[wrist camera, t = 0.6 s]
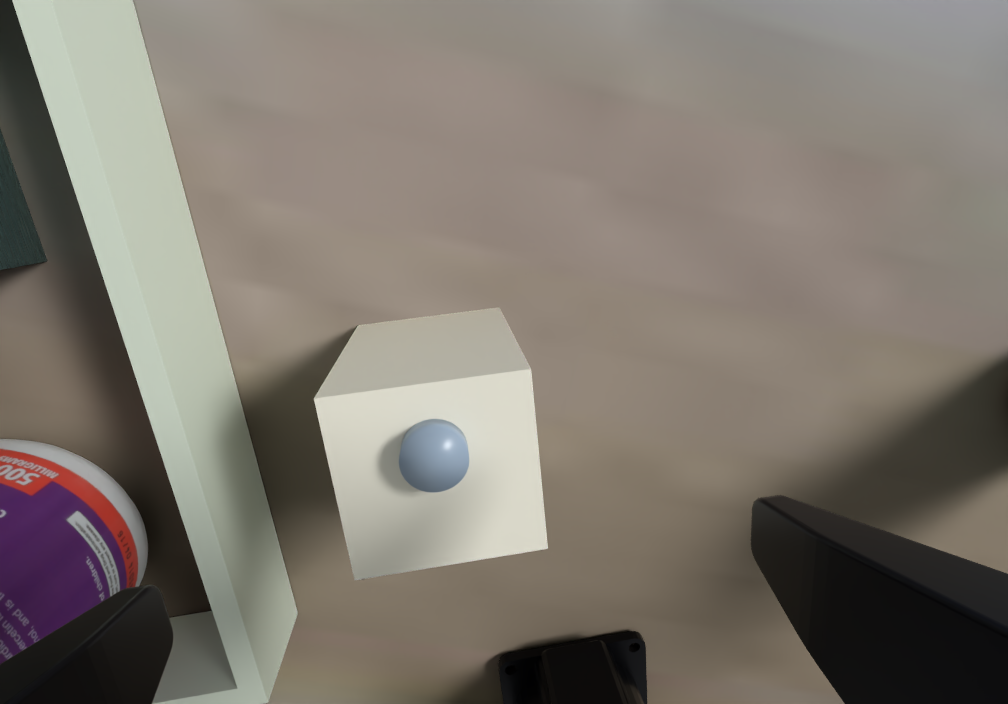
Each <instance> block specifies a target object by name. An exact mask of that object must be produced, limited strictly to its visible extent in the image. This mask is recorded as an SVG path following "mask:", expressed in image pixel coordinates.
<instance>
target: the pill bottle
mask: <svg viewBox="0 0 1008 704" xmlns="http://www.w3.org/2000/svg"><path fill="white" fill-rule="evenodd" d="M147 558H148V540H147V534H146V529H145V525H144V523H143V520H142V517H141V515H140V513H139V511H138V509H137V508H136V506H135V504H134V503H133V501H132V500H131V498H130V497H129V496H128V494H127V493H126V492H125V490H124V489H123V488H122V487H121V486H120V485H119V484H118V483H117V482H116V481H115V480H114V479H113V478H112V477H111V476H110V475H109V474H107V473H106V472H105V471H104V470H102V469H101V468H100V467H98V466H97V465H95V464H94V463H92V462H90V461H88V460H87V459H85V458H83V457H81V456H79V455H77V454H75V453H72V452H70V451H68V450H65V449H63V448H60V447H57V446H54V445H50V444H46V443H41V442H35V441H28V440H18V439H0V664H1V663H3V662H4V661H6V660H8V659H9V658H11V657H12V656H14V655H16V654H17V653H19V652H21V651H22V650H24V649H26V648H27V647H29V646H30V645H32V644H34V643H35V642H37V641H39V640H40V639H42V638H44V637H45V636H47V635H48V634H50V633H52V632H53V631H55V630H57V629H58V628H60V627H62V626H63V625H65V624H66V623H68V622H70V621H71V620H73V619H75V618H76V617H78V616H79V615H81V614H83V613H84V612H86V611H88V610H89V609H91V608H93V607H94V606H96V605H97V604H99V603H101V602H102V601H104V600H106V599H107V598H109V597H111V596H112V595H114V594H115V593H117V592H119V591H121V590H122V589H126V588H130V587H137V586H139V585H140V583H141V581H142V579H143V576H144V572H145V569H146V565H147Z"/></svg>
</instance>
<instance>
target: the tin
mask: <svg viewBox="0 0 1008 704" xmlns="http://www.w3.org/2000/svg"><path fill="white" fill-rule="evenodd" d="M46 261H47V259H46V256H45V253H44V251H43V248H42V245H41V242H40V239H39V237H38V234H37V231H36V228H35V225H34V222H33V220H32V217H31V214H30V211H29V208H28V206H27V203H26V200H25V197H24V194H23V192H22V189H21V186H20V183H19V180H18V177H17V175H16V172H15V169H14V166H13V163H12V161H11V158H10V155H9V152H8V149H7V146H6V144H5V141H4V138H3V135H2V132H1V130H0V270H2V269H8V268H13V267H19V266H24V265H30V264H35V263H41V262H46Z"/></svg>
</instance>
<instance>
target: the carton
mask: <svg viewBox="0 0 1008 704" xmlns="http://www.w3.org/2000/svg"><path fill="white" fill-rule="evenodd" d="M314 402H315V406H316V411H317V415H318V420H319V424H320V428H321V433H322V437H323V442H324V446H325V451H326V455H327V460H328V464H329V468H330V473H331V477H332V482H333V486H334V491H335V495H336V500H337V504H338V508H339V513H340V517H341V522H342V526H343V531H344V535H345V540H346V544H347V548H348V553H349V557H350V562H351V566H352V571H353V575H354V579H355V580H360V579H366V578H372V577H378V576H384V575H390V574H396V573H402V572H409V571H415V570H421V569H427V568H433V567H439V566H445V565H451V564H457V563H463V562H470V561H476V560H482V559H488V558H494V557H500V556H506V555H512V554H518V553H524V552H530V551H537V550H543V549H548V545H547V535H546V524H545V513H544V503H543V492H542V481H541V471H540V460H539V449H538V439H537V428H536V417H535V407H534V396H533V385H532V375H531V368H530V366H529V364H528V362H527V360H526V358H525V356H524V354H523V352H522V351H521V349H520V347H519V345H518V343H517V341H516V339H515V337H514V335H513V333H512V331H511V329H510V327H509V325H508V323H507V321H506V320H505V318H504V316H503V314H502V312H501V310H500V308H491V309H483V310H475V311H467V312H459V313H451V314H444V315H436V316H428V317H420V318H412V319H404V320H396V321H389V322H381V323H373V324H365V325H358V326H357V328H356V329H355V331H354V333H353V334H352V336H351V338H350V339H349V341H348V343H347V344H346V346H345V348H344V349H343V351H342V353H341V354H340V356H339V358H338V359H337V361H336V363H335V364H334V366H333V368H332V369H331V371H330V373H329V374H328V376H327V378H326V379H325V381H324V383H323V384H322V386H321V387H320V389H319V391H318V392H317V394H316V396H315V397H314Z"/></svg>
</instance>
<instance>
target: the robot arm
mask: <svg viewBox="0 0 1008 704" xmlns="http://www.w3.org/2000/svg"><path fill="white" fill-rule="evenodd" d="M751 549H752V553H753V556H754V559H755V561H756V563H757V564H758V566H759V568H760V570H761V571H762V573H763V575H764V577H765V578H766V580H767V582H768V583H769V585H770V587H771V589H772V590H773V592H774V594H775V596H776V597H777V599H778V601H779V603H780V604H781V606H782V608H783V610H784V611H785V613H786V615H787V616H788V618H789V620H790V622H791V623H792V625H793V627H794V629H795V630H796V632H797V634H798V636H799V637H800V639H801V640H802V642H803V644H804V645H805V647H806V649H807V650H808V652H809V653H810V655H811V656H812V658H813V659H814V660H815V662H816V663H817V665H818V666H819V668H820V669H821V671H822V672H823V673H824V675H825V676H826V678H827V679H828V680H829V682H830V683H831V685H832V686H833V688H834V689H835V690H836V692H837V693H838V695H839V696H840V697H841V699H842V700H843V702H844V703H845V704H1008V574H1007V573H1004V572H1001V571H998V570H995V569H992V568H990V567H987V566H984V565H981V564H978V563H975V562H972V561H969V560H967V559H964V558H961V557H958V556H955V555H952V554H949V553H946V552H944V551H941V550H938V549H935V548H932V547H929V546H926V545H923V544H921V543H918V542H915V541H912V540H909V539H906V538H903V537H900V536H898V535H895V534H892V533H889V532H886V531H883V530H880V529H877V528H875V527H872V526H869V525H866V524H863V523H860V522H857V521H854V520H852V519H849V518H846V517H843V516H840V515H837V514H834V513H831V512H829V511H826V510H823V509H820V508H817V507H814V506H811V505H808V504H806V503H803V502H800V501H797V500H794V499H791V498H788V497H785V496H782V495H777V496H770V497H763V498H758V499H757V500H755V501H754V503H753V507H752V525H751ZM173 637H174V636H173V629H172V625H171V622H170V619H169V616H168V612H167V609H166V606H165V603H164V599H163V596H162V593H161V591H160V589H159V588H158V587H157V586H154V585H145V586H137V587H130V588H126V589H122V590H121V591H119V592H117V593H115V594H114V595H112V596H111V597H109V598H107V599H106V600H104V601H102V602H101V603H99V604H97V605H96V606H94V607H93V608H91V609H89V610H88V611H86V612H84V613H83V614H81V615H79V616H78V617H76V618H75V619H73V620H71V621H70V622H68V623H66V624H65V625H63V626H62V627H60V628H58V629H57V630H55V631H53V632H52V633H50V634H48V635H47V636H45V637H44V638H42V639H40V640H39V641H37V642H35V643H34V644H32V645H30V646H29V647H27V648H26V649H24V650H22V651H21V652H19V653H17V654H16V655H14V656H12V657H11V658H9V659H8V660H6V661H4V662H3V663H1V664H0V704H152V703H153V700H154V697H155V694H156V691H157V689H158V686H159V683H160V680H161V678H162V675H163V672H164V669H165V667H166V664H167V661H168V658H169V656H170V653H171V650H172V646H173ZM633 643H635V644H633ZM631 644H633V645H631ZM498 666H499V674H500V681H501V688H502V695H503V703H504V704H647V680H646V648H645V642H644V640H643V638H642V636H641V634H640V633H638V632H635V631H631V632H625V633H620V634H614V635H608V636H603V637H597V638H592V639H586V640H581V641H575V642H570V643H564V644H558V645H553V646H547V647H542V648H536V649H531V650H525V651H520V652H514V653H508V654H506V655H504V656H502V657H501V658H500V660H499V663H498ZM508 666H512V667H508Z"/></svg>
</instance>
